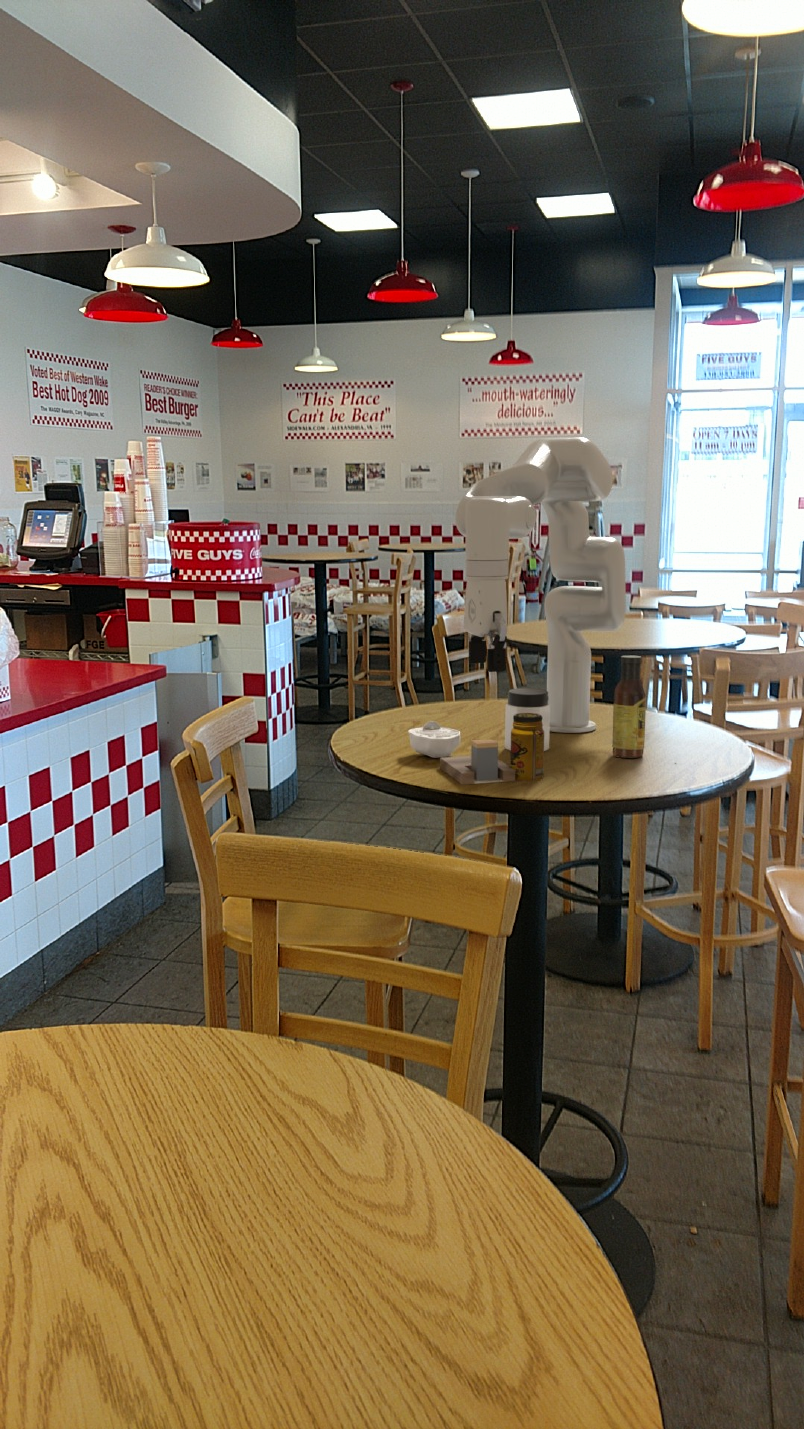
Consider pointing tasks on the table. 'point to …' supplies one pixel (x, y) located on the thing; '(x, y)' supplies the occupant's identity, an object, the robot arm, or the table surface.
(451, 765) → the notched board
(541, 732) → the condiment
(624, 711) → the sauce bottle
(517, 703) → the jar
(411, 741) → the cell model
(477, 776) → the grey and orange block
